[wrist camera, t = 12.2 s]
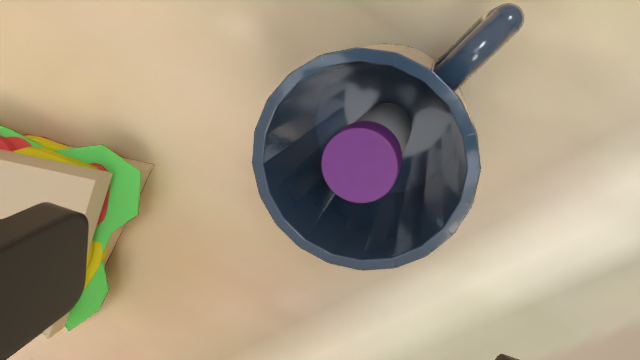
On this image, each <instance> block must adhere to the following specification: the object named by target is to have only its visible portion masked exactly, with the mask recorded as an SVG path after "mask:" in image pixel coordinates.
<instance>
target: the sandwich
mask: <svg viewBox="0 0 640 360" xmlns="http://www.w3.org/2000/svg"><path fill="white" fill-rule="evenodd" d="M153 166H154V164H149V163H145V162H140V161H136V160H131V159H126V158H122V157H120V156H119V155H117V154H116V153H114V152H113V151H112V150H110V149H109V148H107V147H106V146H104V145H95V146H87V147H78V148H76V147H72V146H67V145H63V144H59V143H57V142H54V141H51V140H50V139H48V138H45V137H39V136H33V135H27V134H19V133H17V132H15V131H13V130H11V129H9V128H6V127H3V126H1V125H0V219H4V218H6V217H9V216H11V215H13V214H16V213H18V212H20V211H23V210H25V209H27V208H30V207H32V206H35V205H37V204H39V203H42V202H50V203H53V204H56V205H59V206H62V207H65V208H68V209H71V210H74V211H77V212H80V213H82V214H84V215H85V216H86V217H87V219H88V223H89V231H88V248H87V265H86V281H85V286H84V290H83V292H82V295H81V297H80V299H79V300H78V302H77V303H76V305H75V306H74V307H73V308H72V309H71V310H70V311H69V312H68V313H67V314H66V315H64V316H63V317H62V318H60V319H59V320H58V321H57V322H55V323H54V324H53V325H51V326H50V327H49V328H47V329H46V330H45V331H43V332H42V333H43V334H44V335H45V336H46V337H47V339H49V338H50V337H52V336H53V335H54V334H55V333H57V332H58V331H59V330H61V329H62V328H63V327H64V326H66V328H67V330H68V331H70V330H71V329H73V328H74V327H76V326H77V325H78V324H80V323H81V322H83V321H84V320H86V319H87V318H88V317H90V316H91V315H93V314H94V313H96V312H97V311H98V310H100V308H101V306H102V303H103V301H104V299H105V297H106V295H107V292H108V290H109V286H108V282H107V277H106V272H105V268H104V267H105V264H106V262H107V260H108V258H109V256H110V254H111V252H112V250H113V248H114V246H115V244H116V242H117V240H118V238H119V236H120V234H121V232H122V230H123V228H124V226H125V224H126V222H128V221H129V220H131V219H132V218H134V217H135V216H137V215H138V214H139V203H140V193H141V191H142V189H143V187H144V185H145V183H146V181H147V179H148V177H149V174H150V172H151V170H152V168H153Z"/></svg>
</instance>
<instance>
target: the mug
mask: <svg viewBox="0 0 640 360" xmlns="http://www.w3.org/2000/svg"><path fill="white" fill-rule="evenodd" d="M523 23H524V14H523V11H522V9H521V8H520V7H519V6H517V5H515V4H512V3H506V4H502V5H500V6H498V7H496V8H494V9H492V10H490V11H488V12H486V13H485V14H484V15H483V16H482V17H481V18H479V19H478V20H477V21H476V22H475V23H474V24H473V25H472V26H471V27H470V28H469V29H468V30H467V31H466V32H465V33H464V34H463V35H462V36H461V37H460V38H459V39H458V40H457V41H456V42H455V43H454V44H453V45H452V46H451V47H450V48H449V49H448V50H447V51H446V52H445V53H444V54H443V55H442V56H441V57H440V58H439V59H438V60H436V59H434V58H433V57H430V56H429V55H427V54H425V53H423V52H421V51H419V50H417V49H414V48H412V47H409V46H401V45H393V44H377V45H370V46H363V47H356V48H351V49H346V50H341V51H336V52H331V53H326V54H323V55H320V56H318V57H316V58H315V59H313V60H311V61H309V62H308V63H306V64H304V65H303V66H301V67H299V68H297V69H296V70H294V71H292V72H291V73H290V74H289V75H288V76H287V77H286V78H285V79H284V81H283V82H282V83H281V84H280V85H279V86H278V87H277V89H276V90H275V91H274V92H273V93H272V94H271V96H270V97H269V98H268V100H267V101H266V104H265V106H264V109H263V111H262V114H261V116H260V118H259V121H258V123H257V126H256V128H255V132H254V145H253V158H252V164H253V169H254V174H255V178H256V182H257V187H258V191H259V195H261V196H260V197H261V199H262V201H263V203H264V204H265V206H266V208H267V210H268V211H269V213H270V215H271V217H272V218H273V220H274V222H275V223H276V225H277V226H278V227H279V228H280V229H281V230H282V231H283V232H284V233H285V234H286V235H287V236H288V237H289V238H290V239H291V240H292V241H293V242H294V243H295V244H297V245H298V246H299V247H300V248H302V249H303V250H305V251H307V252H309V253H311V254H313V255H314V256H316V257H318V258H320V259H322V260H324V261H325V262H327V263H330V264H334V265H339V266H343V267H348V268H352V269H357V270H376V269H391V268H394V267H395V268H397V267H399V266H402V265H405V264H407V263H410V262H413V261H415V260H418V259H421V258H423V257H425V256H427V255H429V254H430V253H431V252H433V251H434V250H435V249H436V248H438V247H439V246H440V245H441V244H443V243H444V242H445V241H446V240H448V239H449V238H450V237H451V236H452V235H453V234H454V233H455V232H456V230H457V229H458V227H459V225H460V224H461V222H462V221H463V219H464V218H465V216H466V215H467V213H468V211H469V210H470V208H471V207H472V204H473V201H474V197H475V193H476V189H477V184H478V180H479V176H480V172H481V171H480V169H481V165H480V156H479V147H478V138H477V133H476V129H475V127H474V124H473V121H472V119H471V116H470V114H469V111H468V108H467V106H466V103H465V101H464V98H463V96H462V94H461V92H460V90H459V87H460V86H461V85H462V84H463V83H464V82H465V81H466V80H468V79H469V78H470V77H471V76H472V75H473V74H474V73H475V72H476V71H477V70H478V69H479V68H480V67H481V66H482V65H483V64H484V63H486V62H487V61H488V60H489V59H490V58H491V57H492V56H493V55H494V54H495V53H496V52H497V51H498V50H499V49H500V48H501V47H502V46H504V45H505V44H506V43H507V42H508V41H509V40H510V39H511V38H512V37H513V36H514V35H515V34H516V33H517V32H518V31H519V30H520V29H521V27H522V26H523ZM380 103H393V104H396V105H398V106H400V107H402V108H403V109H404V110H405V111H406V112H407V114H408V115H409V117H410V120H411V125H412V129H411V134H410V137H409V140H408V142H407V145H406V148H405V150H404V153H403V155H402V163H401V167H400V170H399V173H398V176H397V178H396V181H395V183H394V185H393V187H392V188H391V189H390V191H389V192H388V193H387V194H385V195H384V196H383V197H381V198H380V199H378V200H375V201H372V202H368V203H354V202H350V201H347V200H345V199H343V198H341V197H339V196H338V195H336V194H335V193H334V192H333V191H332V190H331V189H330V188H329V186H328V185H327V183H326V181H325V179H324V176H323V173H322V168H321V160H322V154H323V151H324V149H325V147H326V145H327V143H328V142H329V141H330V140H331V138H333V137H334V136H335V135H336V134H337V133H338V132H340V131H341V130H342V129H343V128H345V127H346V126H348V125H350V124H352V123H354V122H355V121H357V120H358V119H359V118H360V117H361V116H362V115H364V114H365V113H366V112H367V111H368V110H370V109H371V108H372V107H374V106H375V105H377V104H380Z"/></svg>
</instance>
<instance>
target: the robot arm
mask: <svg viewBox="0 0 640 360" xmlns="http://www.w3.org/2000/svg"><path fill="white" fill-rule="evenodd" d="M88 231H89V223H88V219H87V217H86V216H85V215H84V214H82V213H80V212H77V211H74V210H71V209H68V208H65V207H62V206H59V205H56V204H53V203H50V202H42V203H39V204H37V205H35V206H32V207H30V208H27V209H25V210H23V211H20V212H18V213H16V214H13V215H11V216H9V217H6V218H4V219H0V360H6V359H8V358H9V357H10V356H12V355H13V354H14V353H16V352H17V351H18V350H20V349H21V348H22V347H24V346H25V345H26V344H28V343H29V342H30V341H31V340H33V339H34V338H35V337H37V336H38V335H39V334H41V333H42V332H43V331H45V330H46V329H47V328H49V327H50V326H51V325H53V324H54V323H55V322H57V321H58V320H59V319H60V318H62V317H63V316H64V315H66V314H67V313H68V312H69V311H70V310H71V309H72V308H73V307H74V306H75V305H76V303H77V302H78V300H79V299H80V297H81V295H82V292H83V290H84V286H85V281H86V265H87V248H88ZM495 360H519V359H516V358H513V357H510V356H507V355H504V354H500V355H499V356H497V358H496V359H495Z"/></svg>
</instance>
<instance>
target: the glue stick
mask: <svg viewBox="0 0 640 360" xmlns="http://www.w3.org/2000/svg"><path fill="white" fill-rule="evenodd" d="M411 129H412V125H411V120H410V117H409V115H408V114H407V112H406V111H405V110H404V109H403V108H402V107H400V106H398V105H396V104H393V103H380V104H377V105H375V106H374V107H372V108H371V109H370V110H368V111H367V112H366V113H365V114H364V115H362V116H361V117H360V118H359V119H358V120H357V121H355V122H354V123H352V124H350V125H348V126H346V127H345V128H343V129H342V130H341V131H340V132H338V133H337V134H336V135H335V136H334V137H333V138H331V140H330V141H329V142H328V143H327V145H326V147H325V149H324V151H323V154H322V160H321V168H322V173H323V176H324V179H325V181H326V183H327V185H328V186H329V188H330V189H331V190H332V191H333V192H334V193H335V194H336V195H338V196H339V197H341V198H343V199H345V200H347V201H350V202H354V203H368V202H372V201H375V200H378V199H380V198H381V197H383V196H384V195H385V194H387V193H388V192H389V191H390V189H391V188H392V187H393V185H394V183H395V181H396V178H397V176H398V173H399V170H400V167H401V163H402V155H403V153H404V150H405V148H406V145H407V142H408V140H409V137H410V134H411Z"/></svg>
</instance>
